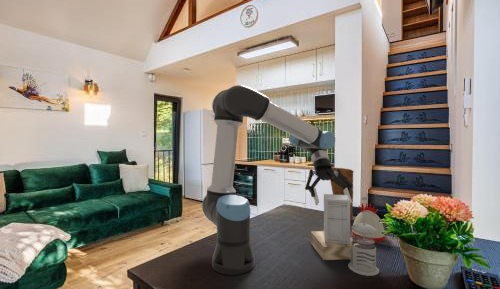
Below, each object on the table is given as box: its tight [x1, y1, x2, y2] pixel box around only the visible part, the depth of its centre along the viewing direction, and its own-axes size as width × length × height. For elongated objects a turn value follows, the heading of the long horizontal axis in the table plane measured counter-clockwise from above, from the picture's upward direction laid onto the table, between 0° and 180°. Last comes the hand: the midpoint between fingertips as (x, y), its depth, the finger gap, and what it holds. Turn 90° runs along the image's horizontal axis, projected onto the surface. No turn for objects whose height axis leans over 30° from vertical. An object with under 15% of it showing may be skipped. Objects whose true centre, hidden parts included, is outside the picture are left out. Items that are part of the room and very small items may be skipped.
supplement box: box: [323, 193, 351, 245], centre depth 99 cm, size 10×9×17 cm
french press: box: [343, 195, 380, 277], centre depth 87 cm, size 10×12×25 cm
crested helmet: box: [351, 202, 386, 243], centre depth 116 cm, size 14×14×15 cm
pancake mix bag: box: [329, 166, 354, 221], centre depth 144 cm, size 7×19×28 cm, turn 17°
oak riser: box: [310, 230, 361, 261], centre depth 100 cm, size 14×15×5 cm
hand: (333, 203), depth 102 cm, fingers open, 13 cm apart
